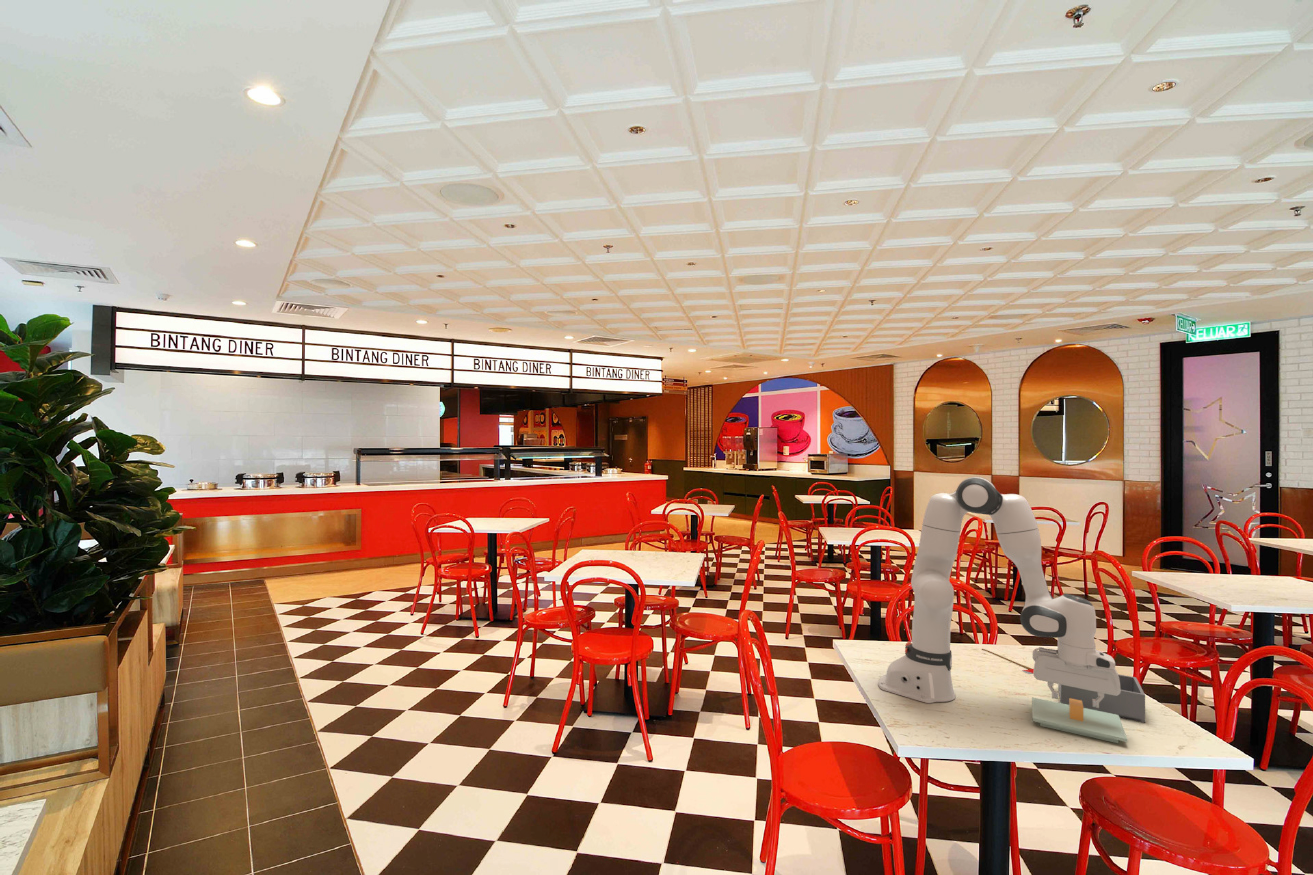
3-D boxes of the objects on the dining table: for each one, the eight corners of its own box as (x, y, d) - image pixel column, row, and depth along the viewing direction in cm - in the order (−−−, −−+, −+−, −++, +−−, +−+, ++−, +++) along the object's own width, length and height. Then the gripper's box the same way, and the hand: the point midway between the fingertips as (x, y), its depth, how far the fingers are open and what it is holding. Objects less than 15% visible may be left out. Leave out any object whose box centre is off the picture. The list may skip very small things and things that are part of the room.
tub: (1060, 705, 180) (1061, 679, 180) (1058, 688, 194) (1058, 663, 194) (1144, 722, 170) (1145, 694, 170) (1135, 703, 183) (1136, 677, 183)
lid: (1032, 726, 166) (1032, 703, 166) (1031, 704, 180) (1032, 683, 180) (1127, 747, 155) (1127, 723, 155) (1118, 722, 169) (1118, 700, 169)
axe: (1022, 675, 206) (1050, 675, 206) (1022, 672, 206) (1050, 672, 206) (980, 650, 231) (1005, 650, 232) (980, 648, 231) (1005, 648, 232)
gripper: (1032, 648, 171) (1031, 696, 171) (1122, 664, 160) (1120, 716, 160) (1032, 642, 176) (1031, 689, 176) (1119, 658, 165) (1117, 707, 165)
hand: (1074, 702), depth 168 cm, fingers open, 8 cm apart
